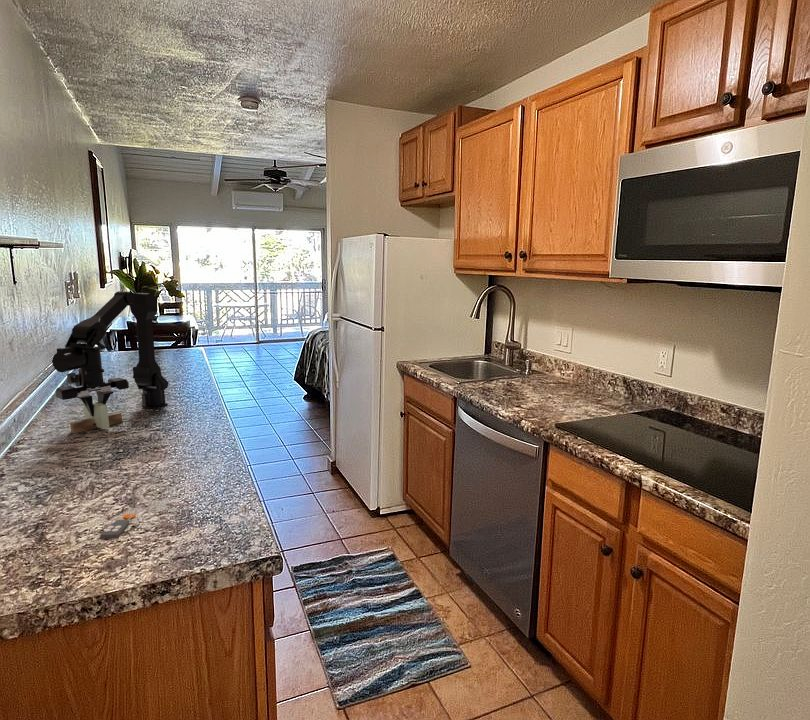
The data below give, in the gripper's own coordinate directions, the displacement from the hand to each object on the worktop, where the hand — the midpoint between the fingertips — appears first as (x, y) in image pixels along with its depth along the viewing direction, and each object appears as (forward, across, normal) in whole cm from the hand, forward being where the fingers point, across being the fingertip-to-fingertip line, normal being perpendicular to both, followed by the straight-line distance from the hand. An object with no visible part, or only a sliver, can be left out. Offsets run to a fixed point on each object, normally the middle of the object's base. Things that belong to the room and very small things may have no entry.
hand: (96, 415), depth 160 cm
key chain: (+4, +22, +68) cm, 71 cm away
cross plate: (+3, 0, 0) cm, 3 cm away
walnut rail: (+4, 0, 0) cm, 4 cm away
